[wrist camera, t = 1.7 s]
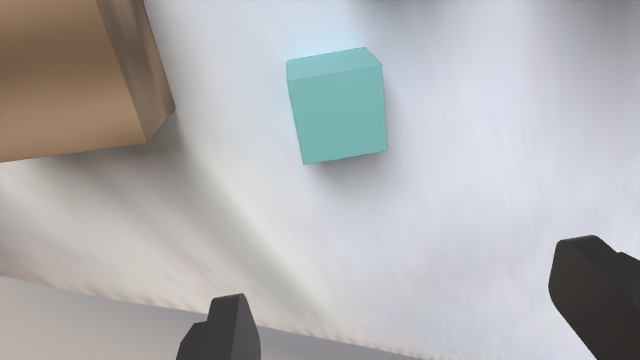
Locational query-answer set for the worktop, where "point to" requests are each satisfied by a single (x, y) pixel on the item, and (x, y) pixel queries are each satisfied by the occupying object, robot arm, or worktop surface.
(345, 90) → the teal cube
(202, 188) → the worktop surface
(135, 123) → the walnut base block
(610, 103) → the worktop surface
